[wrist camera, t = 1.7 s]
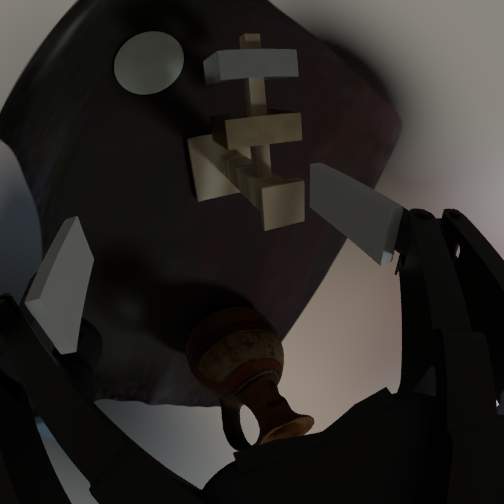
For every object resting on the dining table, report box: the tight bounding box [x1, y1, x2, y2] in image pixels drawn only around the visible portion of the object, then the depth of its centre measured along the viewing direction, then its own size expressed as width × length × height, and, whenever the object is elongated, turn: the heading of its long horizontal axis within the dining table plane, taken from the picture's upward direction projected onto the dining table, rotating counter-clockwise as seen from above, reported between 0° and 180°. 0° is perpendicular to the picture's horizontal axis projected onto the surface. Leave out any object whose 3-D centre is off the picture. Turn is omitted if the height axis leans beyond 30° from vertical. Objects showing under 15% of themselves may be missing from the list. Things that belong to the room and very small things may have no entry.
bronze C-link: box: [210, 109, 302, 150], centre depth 28 cm, size 8×3×7 cm, turn 95°
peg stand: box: [187, 34, 304, 231], centre depth 31 cm, size 12×22×20 cm, turn 5°
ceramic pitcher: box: [186, 307, 314, 451], centre depth 49 cm, size 20×20×30 cm
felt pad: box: [114, 31, 184, 95], centre depth 30 cm, size 10×10×1 cm
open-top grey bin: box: [203, 49, 298, 85], centre depth 24 cm, size 8×3×7 cm, turn 95°
